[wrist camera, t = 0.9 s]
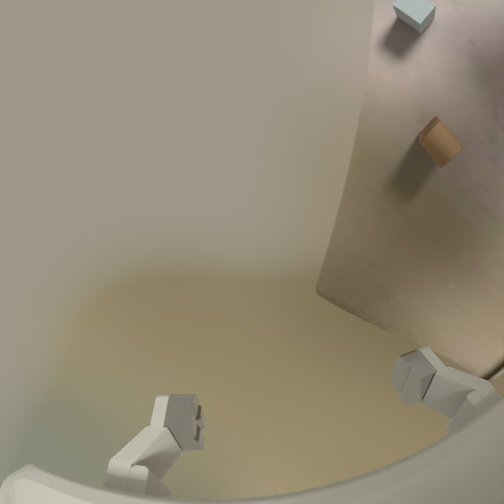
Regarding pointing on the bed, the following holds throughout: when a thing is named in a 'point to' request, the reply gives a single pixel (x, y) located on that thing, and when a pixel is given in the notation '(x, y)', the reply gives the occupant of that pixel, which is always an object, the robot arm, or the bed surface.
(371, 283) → the bed surface
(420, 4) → the bluegrey block
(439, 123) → the walnut block
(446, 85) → the bed surface
